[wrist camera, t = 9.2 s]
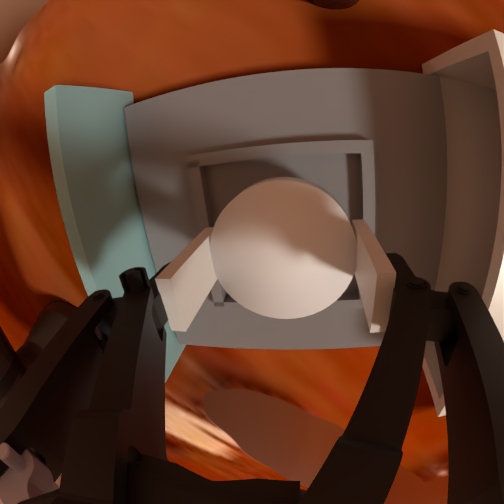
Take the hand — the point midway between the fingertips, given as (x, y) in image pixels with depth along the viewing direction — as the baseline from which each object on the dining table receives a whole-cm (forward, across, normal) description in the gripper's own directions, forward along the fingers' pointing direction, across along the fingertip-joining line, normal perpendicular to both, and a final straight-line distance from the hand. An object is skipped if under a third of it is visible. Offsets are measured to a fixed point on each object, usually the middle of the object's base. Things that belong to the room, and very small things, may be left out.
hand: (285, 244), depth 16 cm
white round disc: (0, 0, 0) cm, 0 cm away
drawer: (+5, 0, 0) cm, 5 cm away
